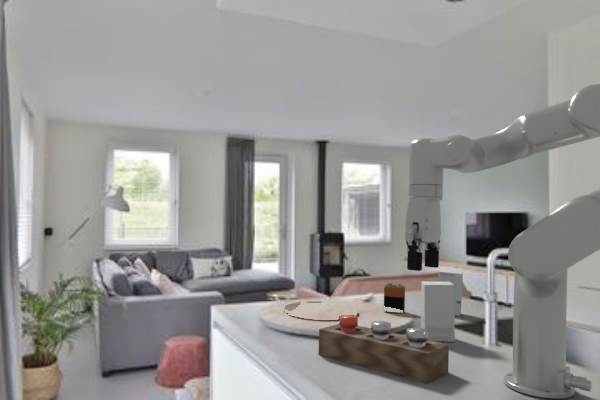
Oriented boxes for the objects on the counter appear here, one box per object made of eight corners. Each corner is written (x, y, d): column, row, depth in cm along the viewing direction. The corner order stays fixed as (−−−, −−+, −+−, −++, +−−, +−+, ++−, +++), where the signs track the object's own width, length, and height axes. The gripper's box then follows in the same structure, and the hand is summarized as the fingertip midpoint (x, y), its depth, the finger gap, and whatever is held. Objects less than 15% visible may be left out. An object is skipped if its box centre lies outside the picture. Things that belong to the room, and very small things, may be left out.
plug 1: (393, 346, 108) (394, 323, 109) (383, 350, 105) (384, 326, 105) (377, 342, 111) (377, 320, 111) (367, 346, 108) (367, 322, 108)
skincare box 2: (436, 314, 164) (437, 271, 165) (437, 311, 170) (438, 269, 171) (461, 316, 162) (462, 273, 162) (462, 313, 167) (462, 271, 168)
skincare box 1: (450, 336, 134) (451, 281, 134) (455, 343, 127) (456, 284, 128) (419, 335, 134) (420, 280, 135) (423, 341, 128) (424, 283, 128)
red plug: (360, 339, 114) (361, 316, 114) (350, 342, 111) (350, 319, 111) (345, 335, 117) (346, 314, 117) (335, 338, 114) (335, 316, 114)
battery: (385, 310, 170) (386, 282, 170) (404, 311, 168) (405, 283, 168) (383, 312, 166) (384, 283, 166) (403, 314, 163) (403, 285, 164)
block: (448, 372, 103) (448, 344, 103) (427, 383, 95) (428, 353, 95) (342, 346, 121) (343, 322, 121) (318, 354, 113) (319, 329, 114)
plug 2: (430, 354, 103) (431, 330, 103) (421, 359, 99) (421, 333, 99) (412, 350, 105) (412, 326, 106) (402, 354, 102) (403, 330, 102)
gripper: (424, 195, 117) (422, 264, 117) (393, 191, 104) (391, 269, 103) (454, 195, 113) (452, 267, 112) (426, 191, 99) (424, 273, 99)
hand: (423, 268), depth 108 cm, fingers open, 9 cm apart
